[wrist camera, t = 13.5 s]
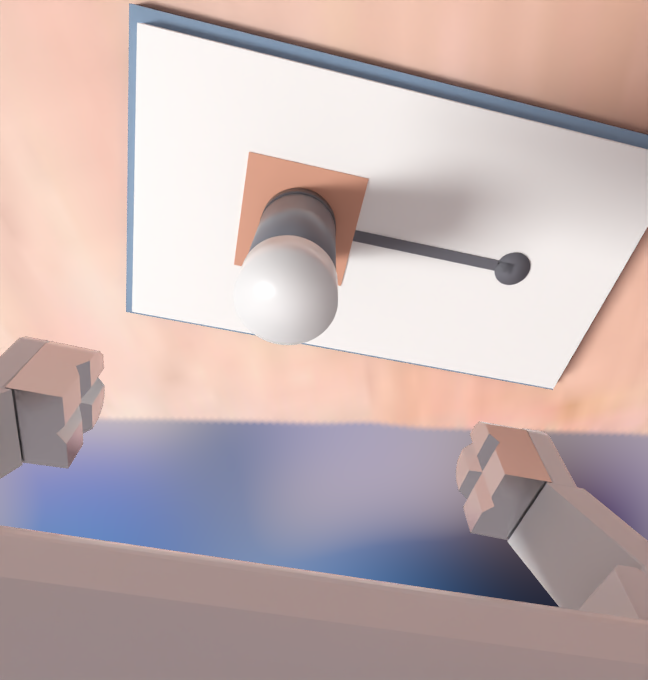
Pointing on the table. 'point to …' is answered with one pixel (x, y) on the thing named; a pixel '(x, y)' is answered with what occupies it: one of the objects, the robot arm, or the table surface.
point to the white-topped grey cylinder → (290, 270)
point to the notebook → (375, 199)
